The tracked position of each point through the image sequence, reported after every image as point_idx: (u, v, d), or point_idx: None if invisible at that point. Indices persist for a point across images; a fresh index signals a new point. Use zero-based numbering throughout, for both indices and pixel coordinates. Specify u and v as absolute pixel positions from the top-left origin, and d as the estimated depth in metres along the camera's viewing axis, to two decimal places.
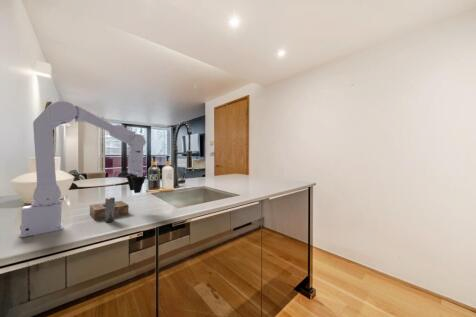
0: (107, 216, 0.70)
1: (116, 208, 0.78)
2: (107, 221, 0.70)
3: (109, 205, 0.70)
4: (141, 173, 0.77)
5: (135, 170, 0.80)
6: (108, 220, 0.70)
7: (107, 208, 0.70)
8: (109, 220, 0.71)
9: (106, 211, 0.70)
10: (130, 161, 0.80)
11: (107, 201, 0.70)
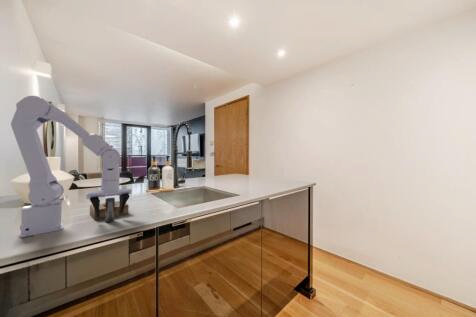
0: (107, 216, 0.70)
1: (116, 208, 0.78)
2: (107, 221, 0.70)
3: (109, 205, 0.70)
4: (86, 194, 0.66)
5: (101, 190, 0.70)
6: (108, 220, 0.70)
7: (107, 208, 0.70)
8: (109, 220, 0.71)
9: (106, 211, 0.70)
10: None
11: (107, 201, 0.70)
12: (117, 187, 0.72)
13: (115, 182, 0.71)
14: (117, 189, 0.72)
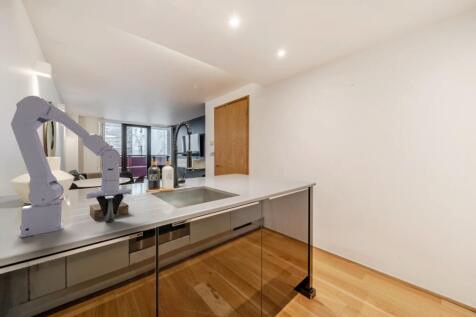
0: (107, 216, 0.70)
1: None
2: (107, 221, 0.70)
3: (109, 205, 0.70)
4: (86, 195, 0.66)
5: (101, 190, 0.70)
6: (108, 220, 0.70)
7: (107, 208, 0.70)
8: (109, 220, 0.71)
9: (106, 211, 0.70)
10: None
11: (107, 201, 0.70)
12: (117, 187, 0.72)
13: (115, 182, 0.71)
14: (117, 189, 0.72)
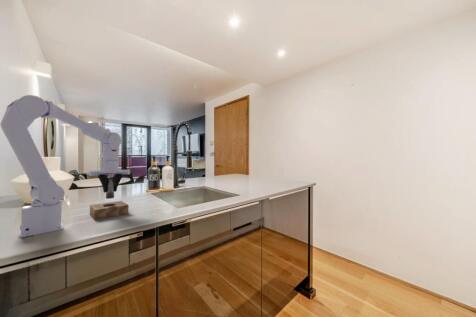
0: (107, 192, 0.78)
1: (116, 208, 0.78)
2: (107, 197, 0.78)
3: (110, 182, 0.78)
4: (89, 172, 0.74)
5: None
6: (108, 196, 0.78)
7: (108, 185, 0.78)
8: (109, 196, 0.78)
9: (107, 188, 0.78)
10: None
11: (108, 179, 0.78)
12: (116, 167, 0.79)
13: (115, 162, 0.78)
14: (116, 169, 0.79)
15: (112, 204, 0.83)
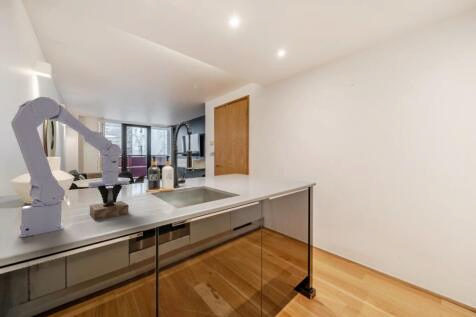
0: (107, 203, 0.78)
1: (116, 208, 0.78)
2: None
3: (109, 194, 0.79)
4: (89, 184, 0.74)
5: (102, 180, 0.78)
6: None
7: (107, 197, 0.78)
8: None
9: (106, 199, 0.78)
10: None
11: (107, 190, 0.78)
12: (116, 178, 0.80)
13: (114, 173, 0.79)
14: (116, 180, 0.80)
15: None
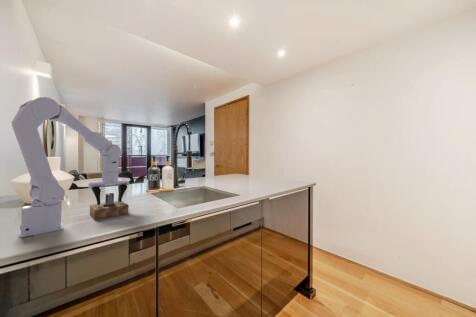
0: None
1: (116, 208, 0.78)
2: None
3: (109, 199, 0.78)
4: (89, 184, 0.74)
5: (102, 181, 0.78)
6: None
7: (107, 202, 0.78)
8: None
9: (106, 205, 0.78)
10: None
11: (107, 196, 0.78)
12: (116, 178, 0.80)
13: (114, 174, 0.79)
14: (116, 180, 0.80)
15: None
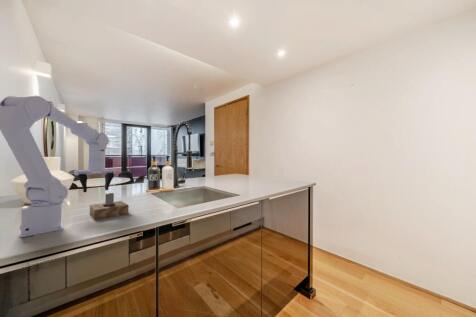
0: None
1: (116, 208, 0.78)
2: None
3: (109, 199, 0.79)
4: (75, 171, 0.75)
5: (88, 168, 0.79)
6: None
7: (107, 202, 0.78)
8: None
9: (106, 205, 0.79)
10: None
11: (107, 196, 0.78)
12: (103, 166, 0.80)
13: (101, 162, 0.79)
14: (103, 168, 0.81)
15: None
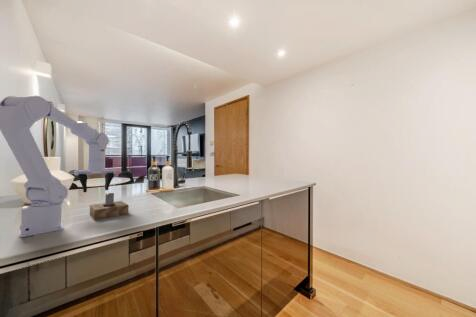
0: None
1: (116, 208, 0.78)
2: None
3: (109, 199, 0.79)
4: (75, 171, 0.75)
5: (88, 168, 0.79)
6: None
7: (107, 202, 0.79)
8: None
9: (106, 205, 0.79)
10: None
11: (107, 196, 0.79)
12: (103, 166, 0.80)
13: (101, 162, 0.79)
14: (103, 168, 0.81)
15: None
